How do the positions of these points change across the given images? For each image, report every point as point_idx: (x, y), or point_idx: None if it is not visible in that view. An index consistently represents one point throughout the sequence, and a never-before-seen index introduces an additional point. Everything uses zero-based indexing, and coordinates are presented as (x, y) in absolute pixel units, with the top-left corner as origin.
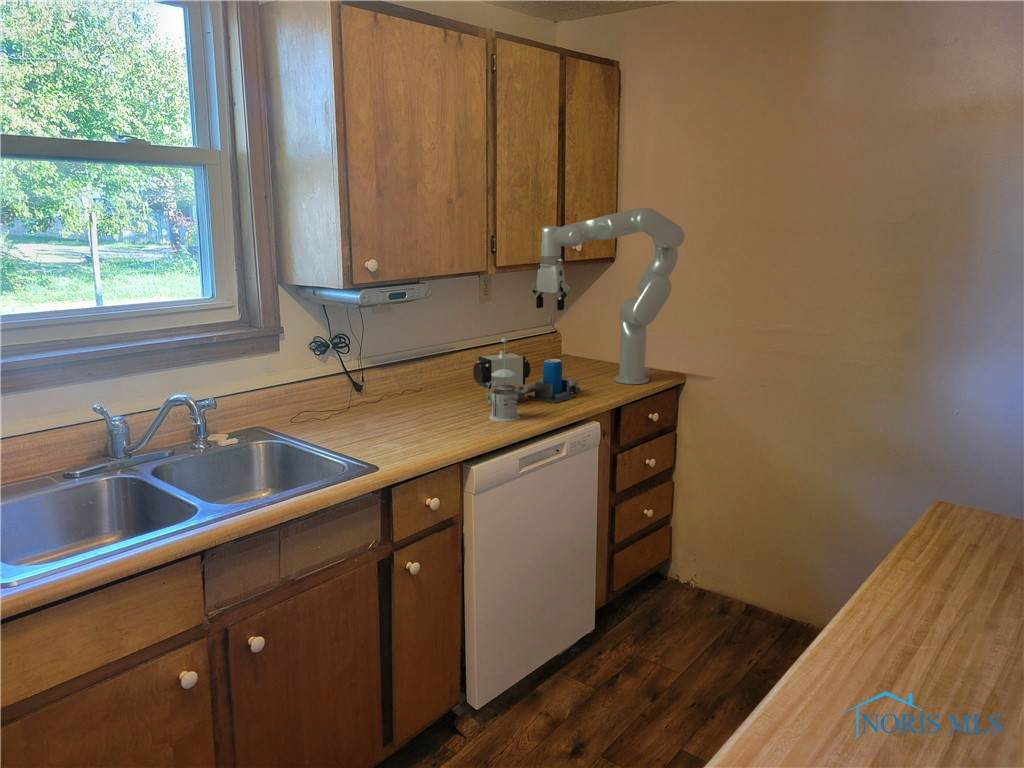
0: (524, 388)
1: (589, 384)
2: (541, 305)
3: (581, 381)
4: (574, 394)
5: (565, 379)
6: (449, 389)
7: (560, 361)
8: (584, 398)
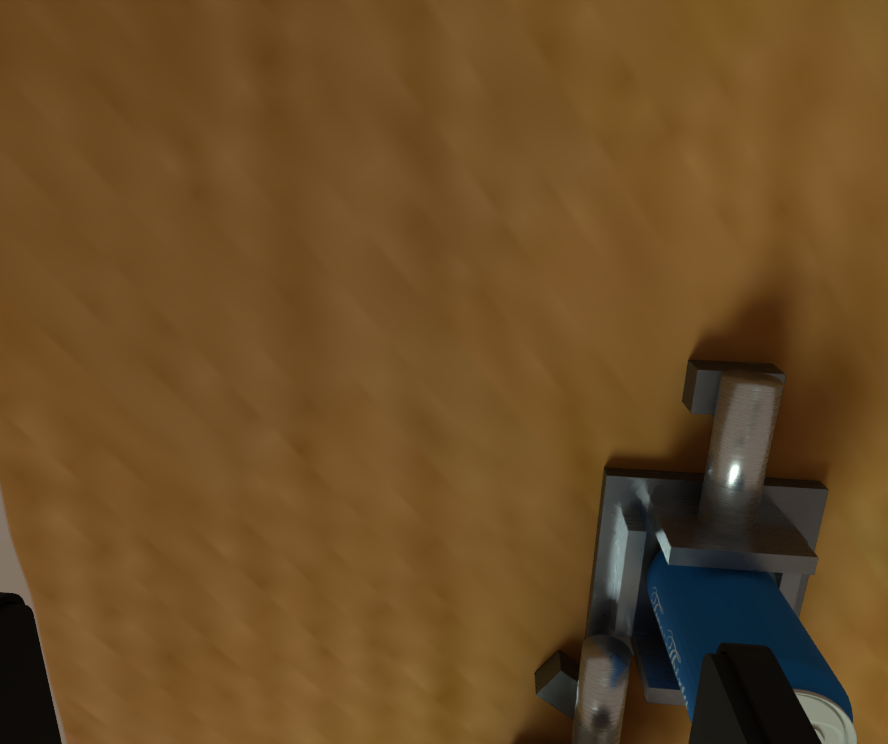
0: (617, 738)
1: (704, 103)
2: (4, 701)
3: (597, 54)
4: (815, 493)
5: (789, 559)
6: (160, 720)
7: (854, 732)
8: (875, 469)
